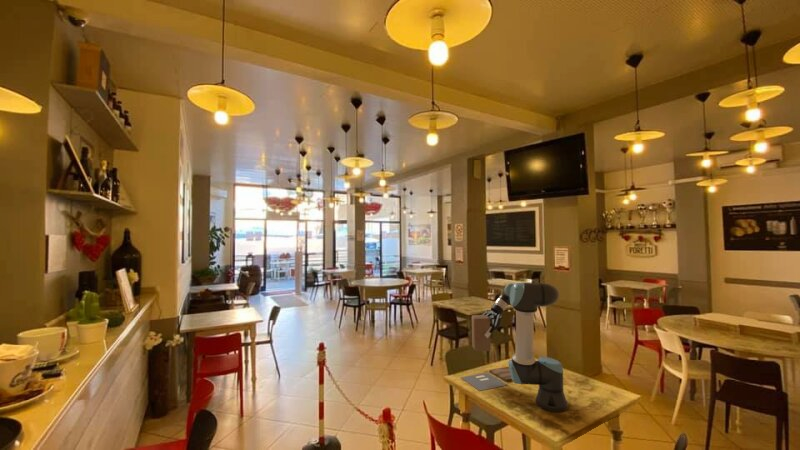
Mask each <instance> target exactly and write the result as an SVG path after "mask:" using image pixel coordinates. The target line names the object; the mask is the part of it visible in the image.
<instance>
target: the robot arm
mask: <svg viewBox="0 0 800 450" xmlns="http://www.w3.org/2000/svg"><path fill="white" fill-rule="evenodd" d="M559 298H560V292H559V290H558V288H557V287H556V286H554V285H552V284H550V283H545V282H543V283H542V282H515V283H508V284H507V285H505V287H504V288H503V291H502V292H501V294H500V295H499V296H498V298H496V300H495V302H494V304H493V305H491V307H490V311H489V310H486V311H485V312H484V313H482V314H481V315H487V316H488V317H489V319H490V320H491V325H490V328H489V329H488V331H487V332H486V334H485V336H486V337H487V338H488V337H489V336H490V337H491V334H493V333H494V331H495V330H499V328H500V325H501V320H502V319H503V316H502V314H503V313H504V311H505V310H506V309H507V307H508V306H509V304H510V305H511V307H512V309H513V310H514V311H515V316H516V317H515V348H514V349H515V350H514V351H515V353H514V354H513V355H512V356H511V359H509V360H508V367H509V370H510V375H511V378H512V381H511V382H513V383H514V384H516V385H532V386H533V385H535V386H538V390H537V394H536V397H535V404H536V406H537V407H539V408H540V409H542V410H545V411H548V412H553V413H562V412H566V411H567V410H568V407H569V406H568V401H567V398H566V395H565V392H564V367H563V365H562V363H561V362H560V361H559V360H557V359H555V358H552V357H547V356H540V357H538V358H537V359H538V360H536V357H535V356H534V355H533V354H534V353H533V352H534V326H535V325H534V324H535V323H534V321H535V320H534V319H535V313H537V311H538V307H550V306H552V305H554V304H556V303H557V302H558V300H559Z"/></svg>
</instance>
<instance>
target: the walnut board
mask: <svg viewBox="0 0 800 450" xmlns="http://www.w3.org/2000/svg"><path fill="white" fill-rule="evenodd" d="M489 374H490V375H492V376H494V377H496V378H497V379H499V380H501V381H502V382H504V383H507V382H513V381H512V378H511V375H510V370H509V366H505V367H498V368H493V369H489Z"/></svg>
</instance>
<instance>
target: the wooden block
mask: <svg viewBox="0 0 800 450" xmlns="http://www.w3.org/2000/svg"><path fill="white" fill-rule="evenodd" d="M490 327H491V319H489V317H488V316H487V315H482V314H480V315H479V314H473V315H472V316H471V346H472V348H473V350H474V351H475V352H491V350H492V349H491V341H492V339H491V335H490V336H489V337H488V338H487V337H486V336H485V334H486V332H487V331H488V329H489V328H490Z"/></svg>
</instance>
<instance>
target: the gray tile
mask: <svg viewBox="0 0 800 450" xmlns="http://www.w3.org/2000/svg"><path fill="white" fill-rule="evenodd" d="M460 379H462V380H463V381H465V382H466V383H467V384H468V385H470V386H471V387H473V388H474V389H476V390H477V391H478V392H480V391H481V392H482V391H487V390H491V389H495V388H500V387H501V388H502V387H506V386H508V384H507V383H506V382H505V381H503V380H501V379H500V378H498V377H496V376H495V375H493V374H491V373H490V372H489V373H488V372H483V373H477V374H472V375H471V374H470V375H467V376H461V377H460Z"/></svg>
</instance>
